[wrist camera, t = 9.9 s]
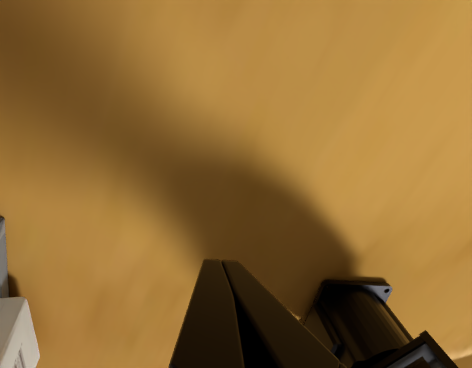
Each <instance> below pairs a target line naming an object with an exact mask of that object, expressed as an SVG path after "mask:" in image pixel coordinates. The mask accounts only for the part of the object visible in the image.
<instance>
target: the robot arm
mask: <svg viewBox="0 0 472 368" xmlns="http://www.w3.org/2000/svg"><path fill="white" fill-rule="evenodd" d="M391 292H392V287H391V286H390V285H389V284H388V283H377V282H357V281H337V280H326V281H324V282H323V283H322V284H321V286H320V288H319V291H318V293H317V296H316V298H315V300H314V303H313V305H312V307H311V310H310V312H309V315H308V317H307V319H306V322H305V324H304V325H303V324H302V323H301V322H300V321H299V320H298V319H297V318H296V317H294V316H293V315H292V314H291V313H290V312H289V311H288V310H287V309H286V308H285V307H284V306H283V305H282V304H281V303H280V302H279V301H278V300H277V299H276V298H275V297H274V296H273V295H272V294H271V293H270V292H269V291H268V290H267V289H266V288H265V287H264V286H263V285H262V284H261V283H260V282H259V281H258V280H257V279H256V278H255V277H254V276H253V275H252V274H251V273H250V272H249V271H248V270H246V269H245V268H244V267H243V266H242V265H241V264H240V263H239V262H238V261H234V260H222V261H220V260H218V259H204V260H203V263H202V266H201V269H200V272H199V275H198V278H197V281H196V284H195V287H194V290H193V293H192V296H191V299H190V302H189V306H188V309H187V312H186V315H185V318H184V321H183V324H182V327H181V330H180V333H179V336H178V339H177V342H176V345H175V348H174V351H173V354H172V358H171V361H170V364H169V368H458V367H457V366H456V364H455V363H454V362H453V361H452V360H451V359H450V358H449V356H448V355H447V354H446V353H445V352H444V351H443V350H442V348H441V347H440V346H439V345H438V344H437V343H436V341H435V340H434V339H433V338H432V337H431V336H430V335H429V333H428V332H427V331H426V330H425V331H424V332H422V333H420V334H419V335H420V336H419V337H417V338H415V339H413V338H412V337H411V335H410V334H409V333H408V332H407V330H406V329H405V328H404V326H403V325H402V324H401V322H400V321H399V320H398V319H397V317H396V316H395V315H394V313H393V312H392V311H391V309H390V308H389V307H388V306H387V304H386V301H387V299H388V297H389V295H390V293H391Z"/></svg>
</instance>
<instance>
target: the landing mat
mask: <svg viewBox="0 0 472 368" xmlns="http://www.w3.org/2000/svg"><path fill="white" fill-rule="evenodd" d="M0 298H9V288H8V271H7V254H6V237H5V219H4V218H0Z"/></svg>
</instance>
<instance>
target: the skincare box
mask: <svg viewBox="0 0 472 368" xmlns="http://www.w3.org/2000/svg"><path fill="white" fill-rule="evenodd" d="M39 358H40V354H39V349H38V344H37V340H36V336H35V332H34V328H33V323H32V319H31V314H30V309H29V306H28V302H27V299H26V298H25V297H11V298H0V368H36V365H37V363H38V360H39Z"/></svg>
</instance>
